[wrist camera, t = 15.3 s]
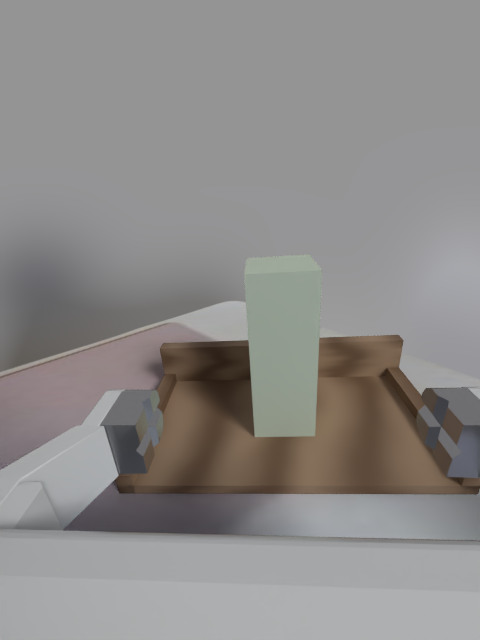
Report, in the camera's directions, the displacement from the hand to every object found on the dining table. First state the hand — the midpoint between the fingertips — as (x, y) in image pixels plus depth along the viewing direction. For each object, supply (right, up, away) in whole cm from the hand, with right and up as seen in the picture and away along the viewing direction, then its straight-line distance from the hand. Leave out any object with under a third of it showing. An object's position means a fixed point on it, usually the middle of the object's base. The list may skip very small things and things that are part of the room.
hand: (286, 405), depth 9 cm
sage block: (+2, -6, +18) cm, 19 cm away
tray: (+2, -7, +18) cm, 20 cm away
